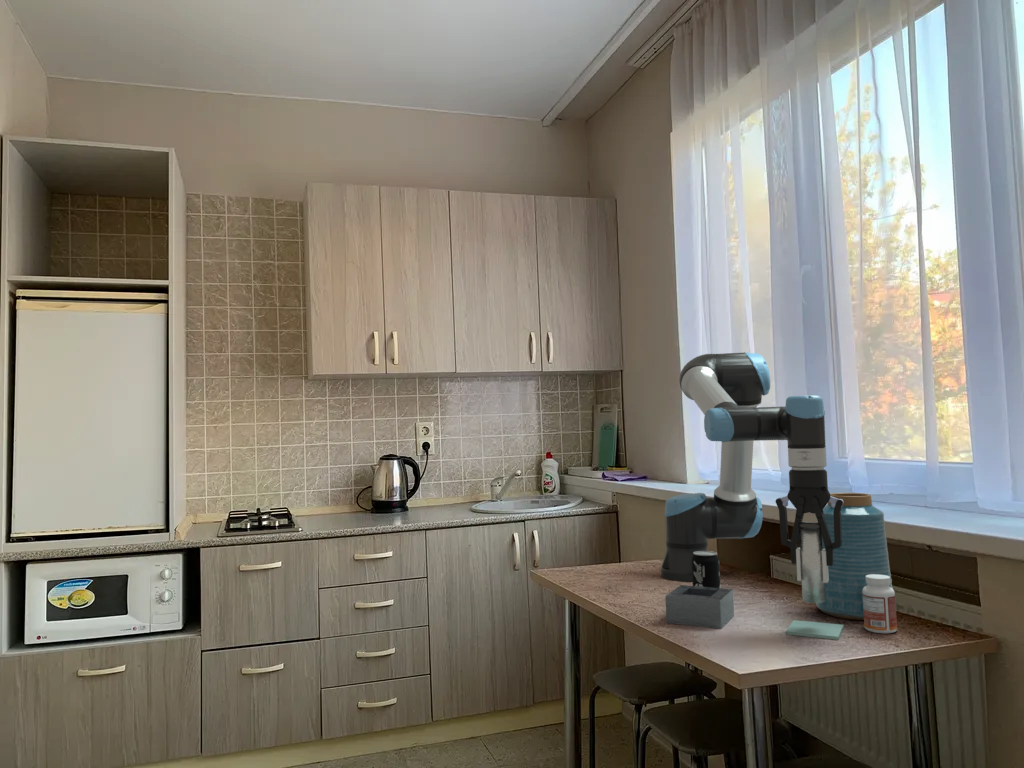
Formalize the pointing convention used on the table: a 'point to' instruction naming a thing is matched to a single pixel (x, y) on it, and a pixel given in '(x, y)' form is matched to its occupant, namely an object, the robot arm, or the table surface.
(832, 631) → the mat
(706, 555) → the beverage can
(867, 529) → the vase
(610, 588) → the table surface
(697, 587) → the block
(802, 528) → the glass tube
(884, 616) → the pill bottle
